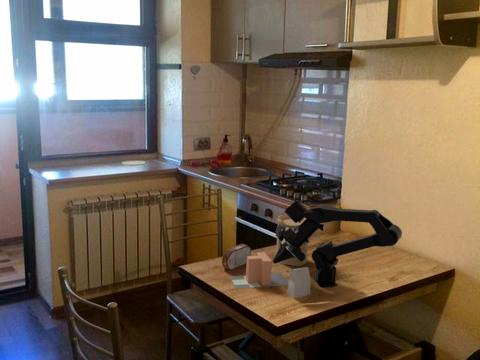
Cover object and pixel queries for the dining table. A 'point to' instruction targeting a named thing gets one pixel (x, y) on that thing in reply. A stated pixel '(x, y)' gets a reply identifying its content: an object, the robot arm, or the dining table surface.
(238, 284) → the board
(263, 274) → the t block
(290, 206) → the robot arm
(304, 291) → the grey upright block
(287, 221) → the container
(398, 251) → the dining table surface
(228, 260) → the tin
